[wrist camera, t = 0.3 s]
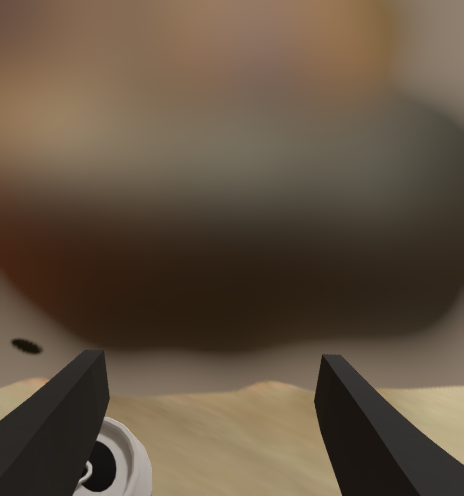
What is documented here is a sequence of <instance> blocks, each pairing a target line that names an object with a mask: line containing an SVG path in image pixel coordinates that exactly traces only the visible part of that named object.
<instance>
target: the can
mask: <svg viewBox="0 0 464 496" xmlns="http://www.w3.org/2000/svg"><path fill="white" fill-rule="evenodd" d="M73 496H152V466H151V463H150V461H149V458H148V455H147V453H146V450H145V447H144V446H143V445H142V444H141V443H140V442H139V441H138V440H137V438H136V437H135V436H134V435H133V434H132V433H131V432H130V431H129V430H128V429H127V427H126V426H125V425H123V424H121V423H120V422H118V421H116V420H114V419H112V418H110V417H104V420H103V423H102V426H101V430H100V432H99V435H98V437H97V440H96V442H95V444H94V447H93V449H92V451H91V454H90V456H89V459H88V461H87V463H86V466H85V468H84V470H83V473H82V475H81V477H80V480H79V482H78V484H77V487H76V489H75V491H74V494H73Z"/></svg>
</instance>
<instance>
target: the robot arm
mask: <svg viewBox="0 0 464 496" xmlns="http://www.w3.org/2000/svg"><path fill="white" fill-rule="evenodd" d="M109 399H110V397H109V389H108V380H107V372H106V364H105V355H104V350H85V351H83V352H82V353H81V354H80V355H78V356H77V357H76V358H75V359H74V360H73V361H72V362H70V364H68V365H67V366H66V367H65V368H63V369H62V370H61V371H60V372H59V373H58V374H57V375H55V376H54V377H53V378H52V379H51V380H50V381H49V382H47V383H46V384H45V385H44V386H43V387H41V388H40V389H39V390H38V391H37V392H36V393H34V394H33V395H32V396H31V397H30V398H28V399H27V400H26V401H25V402H23V403H22V404H21V405H19V406H18V407H17V408H16V409H14V410H13V411H12V412H11V413H9V414H8V415H7V416H5V417H4V418H3V419H2V420H0V496H73V494H74V491H75V489H76V487H77V484H78V482H79V480H80V477H81V475H82V473H83V470H84V468H85V466H86V463H87V461H88V459H89V456H90V454H91V451H92V449H93V447H94V444H95V442H96V440H97V437H98V435H99V432H100V430H101V426H102V423H103V420H104V417H105V413H106V410H107V406H108V403H109ZM314 403H315V408H316V413H317V418H318V422H319V427H320V431H321V434H322V438H323V441H324V444H325V447H326V450H327V452H328V455H329V458H330V461H331V464H332V467H333V470H334V473H335V476H336V479H337V482H338V485H339V487H340V490H341V493H342V496H464V465H463V464H462V463H460V462H459V461H458V460H456V459H455V458H454V457H452V456H451V455H450V454H448V453H447V452H446V451H445V450H443V449H442V448H441V447H439V446H438V445H437V444H436V443H434V442H433V441H432V440H431V439H429V438H428V437H427V436H426V435H424V434H423V433H422V432H421V431H420V430H418V429H417V428H416V427H415V426H414V425H413V424H412V423H410V422H409V421H408V420H407V419H406V418H405V417H404V416H402V415H401V414H400V413H399V412H398V411H397V410H396V409H395V408H394V407H393V406H392V405H390V404H389V403H388V402H387V401H386V400H385V399H384V398H383V397H382V396H381V395H380V394H379V393H378V392H377V391H376V390H375V389H374V388H373V387H372V386H371V385H370V384H369V383H368V382H367V381H366V380H365V379H364V378H363V377H362V376H361V375H360V374H359V373H358V372H357V371H356V370H355V369H354V368H353V367H352V366H351V365H350V364H349V363H348V362H347V361H346V360H345V359H344V358H343V357H342V356H341V355H325V354H323V355H322V359H321V365H320V371H319V376H318V382H317V387H316V393H315V399H314Z"/></svg>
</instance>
